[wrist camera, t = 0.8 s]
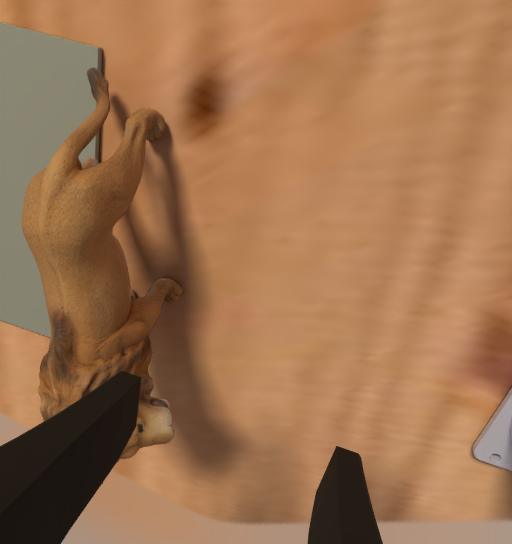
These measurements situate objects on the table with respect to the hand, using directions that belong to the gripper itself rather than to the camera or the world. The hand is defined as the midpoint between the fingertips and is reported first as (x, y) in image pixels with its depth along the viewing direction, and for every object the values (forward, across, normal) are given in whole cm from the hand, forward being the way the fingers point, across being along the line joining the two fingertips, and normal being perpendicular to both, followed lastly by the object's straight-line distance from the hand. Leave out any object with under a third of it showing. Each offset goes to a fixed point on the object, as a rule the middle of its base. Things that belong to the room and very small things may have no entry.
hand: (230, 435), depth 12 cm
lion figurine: (+10, +7, 0) cm, 12 cm away
